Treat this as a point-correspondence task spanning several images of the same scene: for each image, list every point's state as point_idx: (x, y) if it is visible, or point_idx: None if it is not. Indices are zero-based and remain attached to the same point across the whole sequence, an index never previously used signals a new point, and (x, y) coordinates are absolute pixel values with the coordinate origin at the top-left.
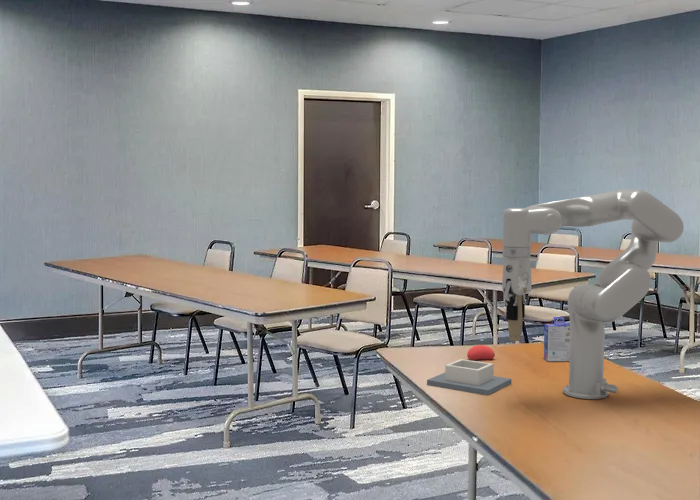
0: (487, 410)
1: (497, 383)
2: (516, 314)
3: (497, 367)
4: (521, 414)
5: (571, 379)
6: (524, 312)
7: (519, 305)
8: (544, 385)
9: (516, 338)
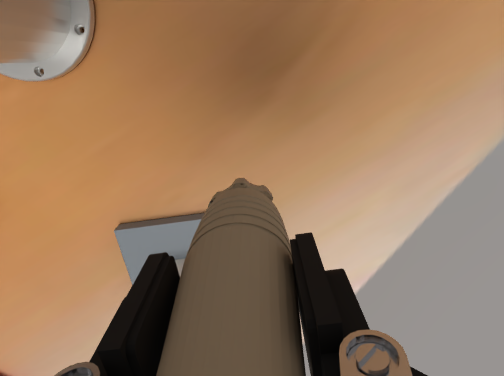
0: (388, 129)
1: (184, 230)
2: (321, 264)
3: (22, 325)
4: (366, 35)
5: (45, 29)
6: (138, 279)
7: (256, 335)
8: (56, 153)
9: (267, 189)
